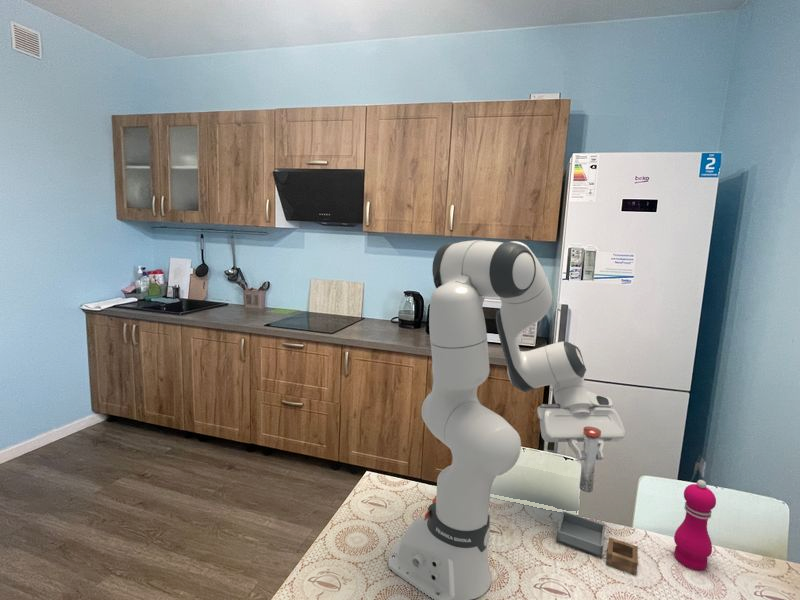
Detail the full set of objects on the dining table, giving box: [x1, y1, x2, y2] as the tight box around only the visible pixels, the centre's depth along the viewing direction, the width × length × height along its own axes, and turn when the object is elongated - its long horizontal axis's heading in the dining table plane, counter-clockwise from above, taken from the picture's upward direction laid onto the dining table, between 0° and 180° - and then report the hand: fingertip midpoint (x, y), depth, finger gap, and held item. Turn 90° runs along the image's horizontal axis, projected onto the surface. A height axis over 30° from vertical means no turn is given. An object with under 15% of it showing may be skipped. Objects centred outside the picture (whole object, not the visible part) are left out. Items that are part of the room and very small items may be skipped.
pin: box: [578, 426, 601, 493], centre depth 101 cm, size 4×4×15 cm
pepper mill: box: [673, 479, 717, 571], centre depth 97 cm, size 7×7×20 cm
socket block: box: [605, 536, 639, 576], centre depth 97 cm, size 6×6×3 cm
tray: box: [556, 510, 606, 560], centre depth 104 cm, size 10×9×3 cm
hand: (590, 459), depth 101 cm, fingers closed on pin, 3 cm apart
